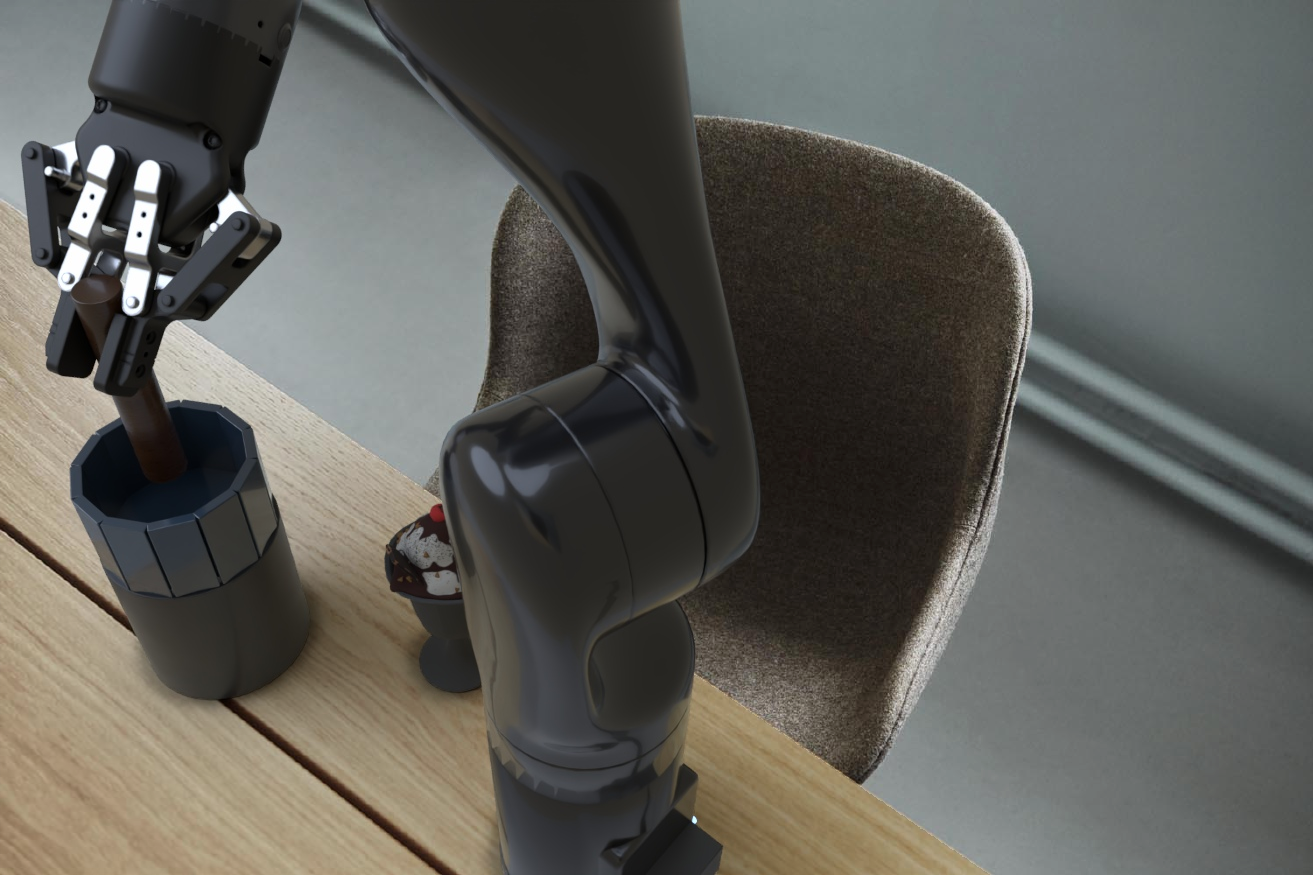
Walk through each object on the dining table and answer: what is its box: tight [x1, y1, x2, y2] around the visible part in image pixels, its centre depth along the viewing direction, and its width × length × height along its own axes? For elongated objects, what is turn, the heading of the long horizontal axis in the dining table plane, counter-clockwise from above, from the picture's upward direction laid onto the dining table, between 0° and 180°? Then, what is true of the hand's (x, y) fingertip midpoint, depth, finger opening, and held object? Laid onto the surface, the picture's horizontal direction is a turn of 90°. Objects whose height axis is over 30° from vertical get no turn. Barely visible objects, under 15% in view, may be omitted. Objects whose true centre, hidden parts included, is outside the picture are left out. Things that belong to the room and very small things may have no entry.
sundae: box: [383, 503, 482, 693], centre depth 65 cm, size 7×7×15 cm
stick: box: [70, 274, 188, 483], centre depth 56 cm, size 2×2×12 cm
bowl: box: [68, 399, 278, 598], centre depth 62 cm, size 9×9×6 cm
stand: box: [99, 492, 311, 701], centre depth 67 cm, size 10×10×10 cm
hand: (91, 383), depth 53 cm, fingers closed on stick, 2 cm apart
